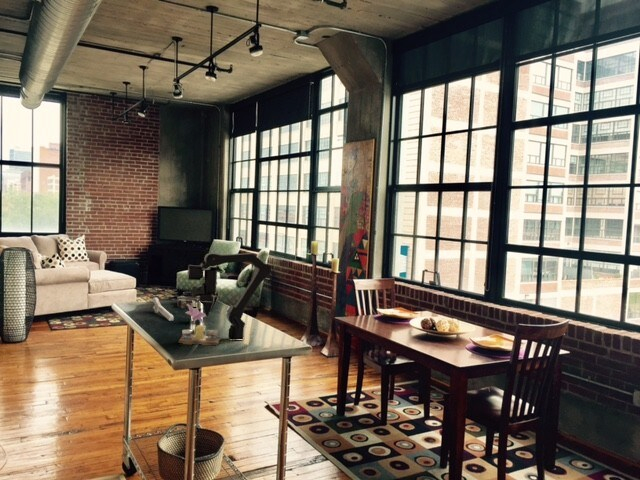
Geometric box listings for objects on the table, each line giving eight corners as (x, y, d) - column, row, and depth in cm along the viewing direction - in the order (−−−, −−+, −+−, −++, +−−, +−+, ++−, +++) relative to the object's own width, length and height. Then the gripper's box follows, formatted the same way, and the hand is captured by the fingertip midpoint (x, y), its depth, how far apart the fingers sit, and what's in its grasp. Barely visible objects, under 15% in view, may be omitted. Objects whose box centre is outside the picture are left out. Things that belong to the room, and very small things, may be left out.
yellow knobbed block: (205, 336, 247) (206, 325, 247) (203, 339, 242) (204, 328, 242) (196, 336, 247) (196, 325, 247) (194, 338, 242) (194, 327, 241)
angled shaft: (192, 337, 246) (192, 328, 245) (194, 338, 243) (195, 330, 243) (181, 338, 243) (181, 329, 243) (183, 339, 240) (184, 330, 240)
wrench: (169, 326, 284) (151, 309, 308) (173, 326, 285) (154, 309, 309) (171, 312, 283) (152, 296, 307) (174, 311, 284) (155, 296, 308)
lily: (207, 327, 279) (211, 310, 284) (187, 320, 273) (192, 302, 277) (195, 330, 288) (200, 313, 292) (176, 322, 281) (181, 305, 286)
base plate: (220, 339, 250) (221, 327, 250) (216, 345, 239) (217, 333, 239) (183, 337, 250) (184, 326, 249) (178, 343, 239) (178, 331, 238)
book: (200, 303, 342) (201, 295, 342) (203, 311, 318) (204, 302, 318) (176, 303, 338) (177, 295, 338) (178, 310, 314) (178, 302, 314)
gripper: (196, 276, 257) (194, 309, 258) (188, 282, 238) (186, 316, 239) (219, 278, 258) (218, 310, 258) (213, 283, 239) (212, 318, 240)
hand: (208, 313), depth 249 cm, fingers open, 9 cm apart
